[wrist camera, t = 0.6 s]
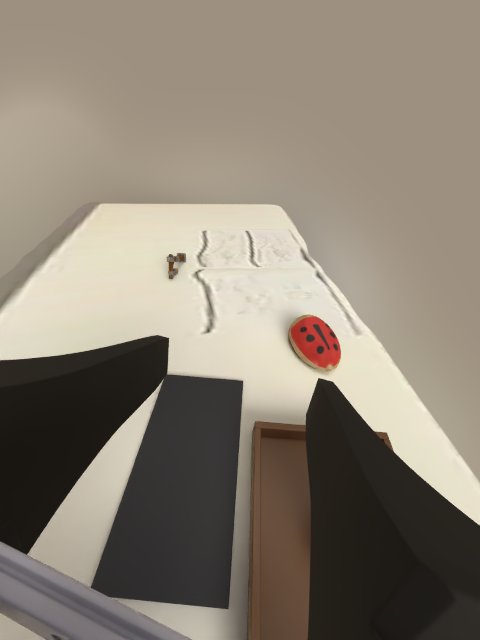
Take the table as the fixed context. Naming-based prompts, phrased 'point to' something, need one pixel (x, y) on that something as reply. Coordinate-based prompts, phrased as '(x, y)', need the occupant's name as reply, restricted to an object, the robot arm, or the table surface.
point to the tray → (280, 533)
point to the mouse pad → (179, 500)
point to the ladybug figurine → (315, 342)
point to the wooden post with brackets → (171, 259)
